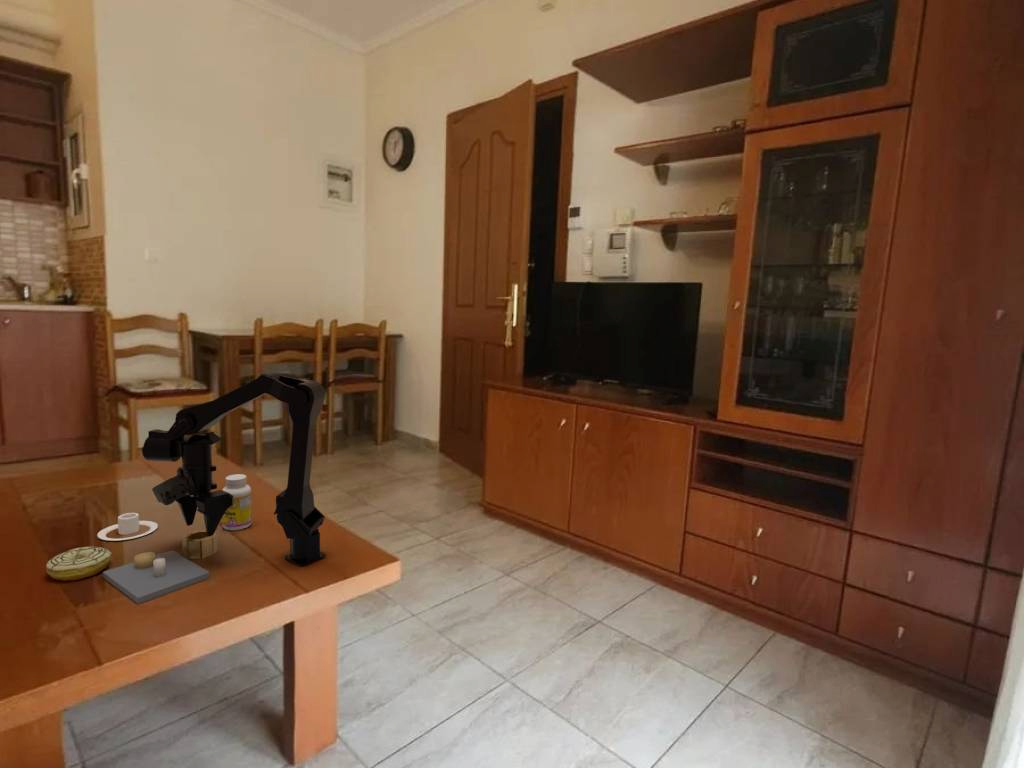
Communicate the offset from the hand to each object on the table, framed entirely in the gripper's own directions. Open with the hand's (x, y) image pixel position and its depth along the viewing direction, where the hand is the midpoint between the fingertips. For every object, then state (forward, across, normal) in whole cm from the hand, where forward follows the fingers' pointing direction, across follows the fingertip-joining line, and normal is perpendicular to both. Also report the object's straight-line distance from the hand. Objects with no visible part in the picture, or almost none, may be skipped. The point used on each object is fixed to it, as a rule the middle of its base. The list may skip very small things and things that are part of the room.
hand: (199, 530), depth 123 cm
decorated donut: (+6, -10, -19) cm, 22 cm away
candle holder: (+6, -24, -5) cm, 25 cm away
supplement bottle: (+5, -8, +13) cm, 16 cm away
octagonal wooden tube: (+5, 0, 0) cm, 5 cm away
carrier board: (+5, +5, -11) cm, 13 cm away
